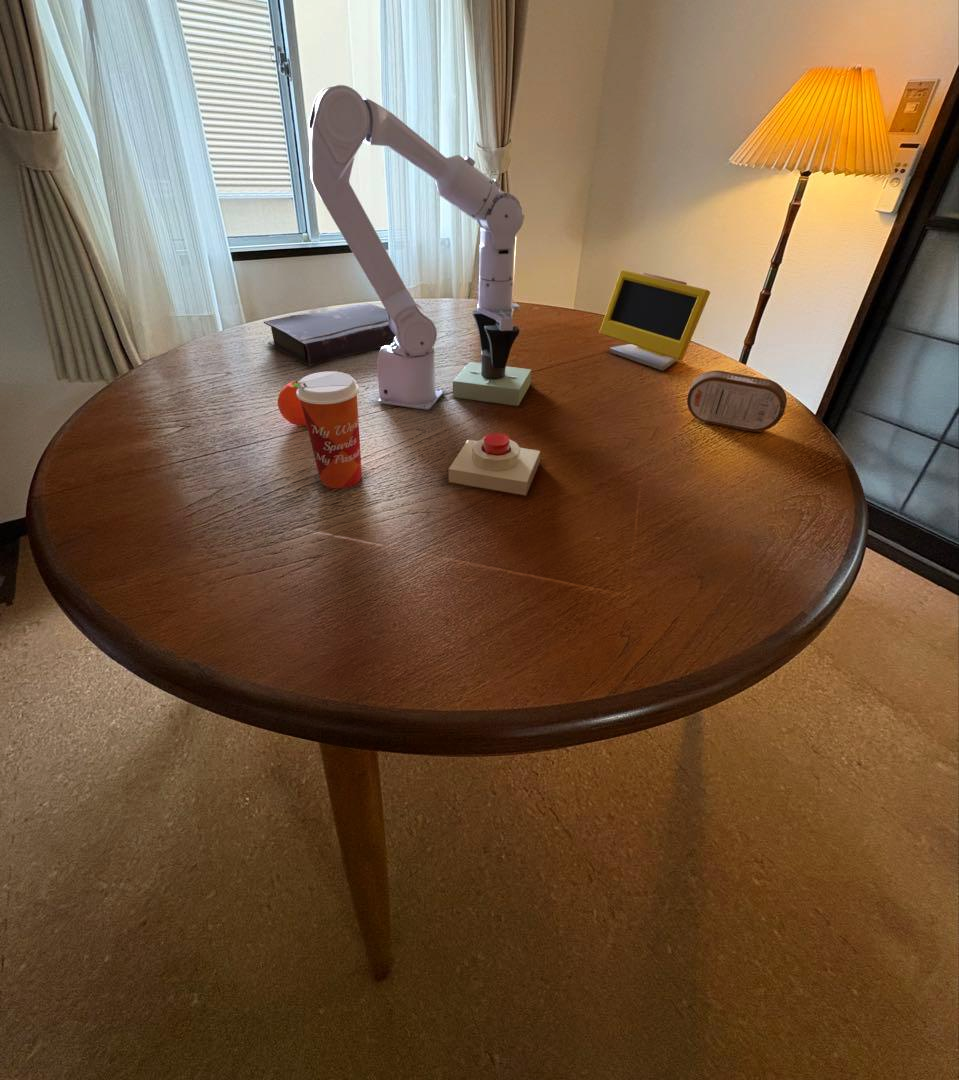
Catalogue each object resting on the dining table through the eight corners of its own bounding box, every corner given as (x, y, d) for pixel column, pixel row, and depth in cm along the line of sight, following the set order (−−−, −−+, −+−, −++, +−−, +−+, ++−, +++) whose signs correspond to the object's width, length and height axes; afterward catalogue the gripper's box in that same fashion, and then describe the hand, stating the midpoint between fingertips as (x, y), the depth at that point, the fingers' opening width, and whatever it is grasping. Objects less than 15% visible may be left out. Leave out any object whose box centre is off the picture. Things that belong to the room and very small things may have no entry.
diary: (412, 342, 123) (411, 318, 120) (310, 369, 109) (306, 343, 106) (364, 322, 134) (362, 299, 131) (266, 344, 120) (261, 320, 117)
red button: (480, 454, 77) (480, 443, 76) (487, 442, 79) (487, 431, 78) (505, 458, 76) (506, 447, 75) (511, 446, 79) (512, 435, 78)
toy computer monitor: (596, 349, 122) (607, 270, 112) (618, 341, 126) (632, 265, 116) (674, 376, 110) (695, 291, 100) (697, 367, 114) (718, 285, 105)
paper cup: (321, 498, 74) (302, 398, 65) (306, 471, 79) (288, 375, 71) (377, 484, 77) (367, 386, 68) (360, 459, 82) (348, 365, 74)
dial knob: (507, 378, 100) (508, 354, 97) (483, 380, 99) (483, 355, 96) (502, 369, 103) (503, 346, 100) (479, 370, 102) (479, 347, 100)
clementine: (338, 425, 91) (332, 383, 86) (301, 440, 86) (293, 396, 82) (310, 410, 95) (303, 369, 90) (273, 423, 91) (264, 381, 86)
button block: (448, 482, 78) (448, 457, 75) (467, 452, 84) (467, 428, 82) (525, 495, 75) (528, 470, 73) (539, 463, 82) (541, 439, 80)
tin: (776, 430, 92) (795, 381, 87) (775, 438, 90) (794, 388, 85) (682, 412, 97) (695, 364, 92) (679, 419, 95) (692, 371, 90)
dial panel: (452, 397, 100) (452, 380, 98) (469, 376, 108) (469, 360, 106) (518, 406, 98) (519, 388, 96) (530, 384, 105) (531, 368, 104)
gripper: (533, 287, 86) (527, 373, 95) (507, 266, 97) (503, 344, 106) (489, 289, 85) (486, 376, 93) (468, 267, 96) (467, 347, 104)
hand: (493, 359), depth 99 cm, fingers open, 7 cm apart
